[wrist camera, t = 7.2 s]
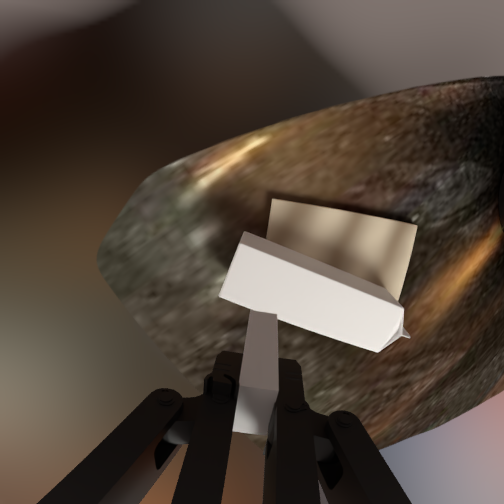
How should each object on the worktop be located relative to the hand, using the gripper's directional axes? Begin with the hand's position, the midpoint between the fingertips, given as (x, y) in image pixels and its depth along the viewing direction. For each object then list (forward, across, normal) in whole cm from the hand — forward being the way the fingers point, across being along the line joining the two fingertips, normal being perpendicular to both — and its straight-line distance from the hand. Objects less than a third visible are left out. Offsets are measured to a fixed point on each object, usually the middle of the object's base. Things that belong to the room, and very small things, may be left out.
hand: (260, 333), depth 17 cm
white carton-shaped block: (+15, -4, -1) cm, 16 cm away
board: (+20, +9, 0) cm, 21 cm away
